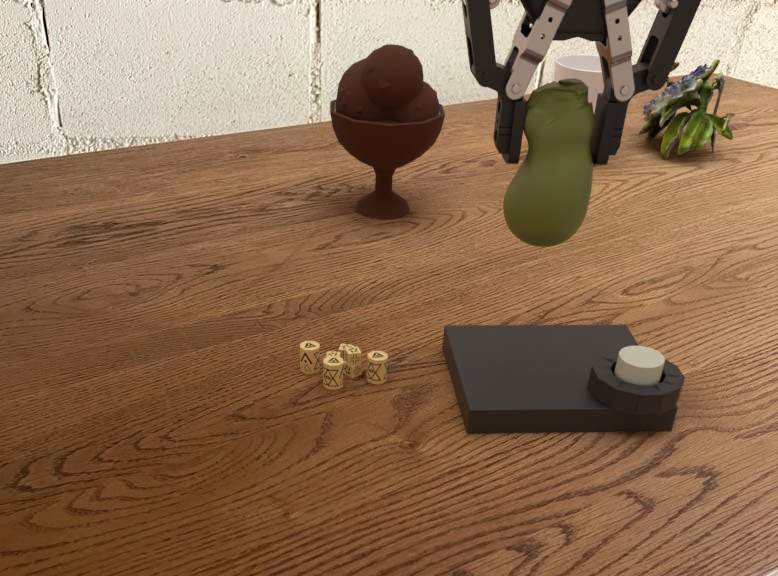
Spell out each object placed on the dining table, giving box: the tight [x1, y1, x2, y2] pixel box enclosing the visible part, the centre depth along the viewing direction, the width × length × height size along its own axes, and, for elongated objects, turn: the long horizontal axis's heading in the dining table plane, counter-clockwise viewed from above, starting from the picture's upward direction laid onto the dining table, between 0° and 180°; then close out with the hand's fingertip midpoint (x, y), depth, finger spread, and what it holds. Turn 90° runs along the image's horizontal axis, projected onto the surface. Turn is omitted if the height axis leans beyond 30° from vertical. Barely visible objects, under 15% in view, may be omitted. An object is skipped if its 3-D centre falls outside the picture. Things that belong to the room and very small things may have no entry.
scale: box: [442, 324, 686, 435], centre depth 65 cm, size 14×13×4 cm
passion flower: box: [638, 59, 736, 161], centre depth 109 cm, size 11×11×12 cm
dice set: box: [299, 340, 389, 391], centre depth 66 cm, size 5×5×2 cm
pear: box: [502, 78, 594, 248], centre depth 58 cm, size 6×5×10 cm
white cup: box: [552, 53, 604, 166], centre depth 104 cm, size 8×8×10 cm
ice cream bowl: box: [329, 43, 446, 220], centre depth 88 cm, size 11×11×15 cm
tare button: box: [614, 345, 666, 386], centre depth 61 cm, size 3×3×2 cm
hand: (554, 159), depth 58 cm, fingers closed on pear, 5 cm apart
